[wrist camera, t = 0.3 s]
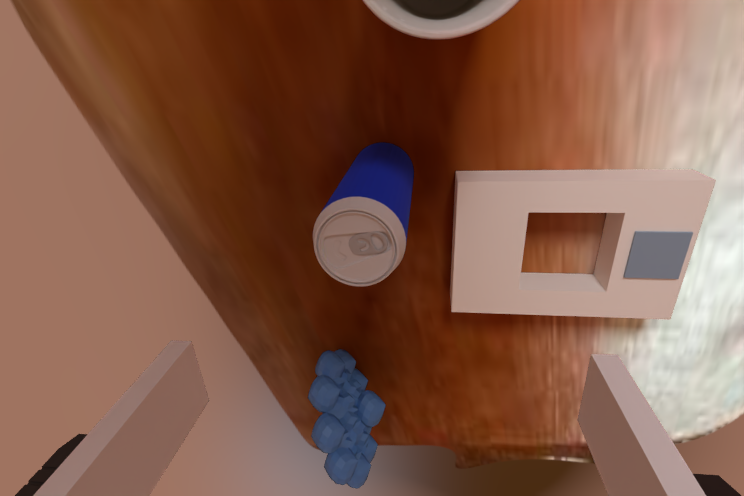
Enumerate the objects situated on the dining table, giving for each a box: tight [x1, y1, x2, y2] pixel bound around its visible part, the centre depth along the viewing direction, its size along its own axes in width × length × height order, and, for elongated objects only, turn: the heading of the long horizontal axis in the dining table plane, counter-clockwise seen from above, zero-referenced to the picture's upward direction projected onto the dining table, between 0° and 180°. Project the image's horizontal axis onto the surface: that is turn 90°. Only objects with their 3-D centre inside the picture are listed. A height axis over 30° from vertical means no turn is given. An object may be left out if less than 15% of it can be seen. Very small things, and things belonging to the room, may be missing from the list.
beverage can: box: [313, 142, 414, 286], centre depth 29 cm, size 5×5×15 cm
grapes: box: [308, 349, 386, 488], centre depth 40 cm, size 12×7×12 cm, turn 23°
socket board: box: [450, 169, 716, 319], centre depth 34 cm, size 12×18×3 cm, turn 92°
